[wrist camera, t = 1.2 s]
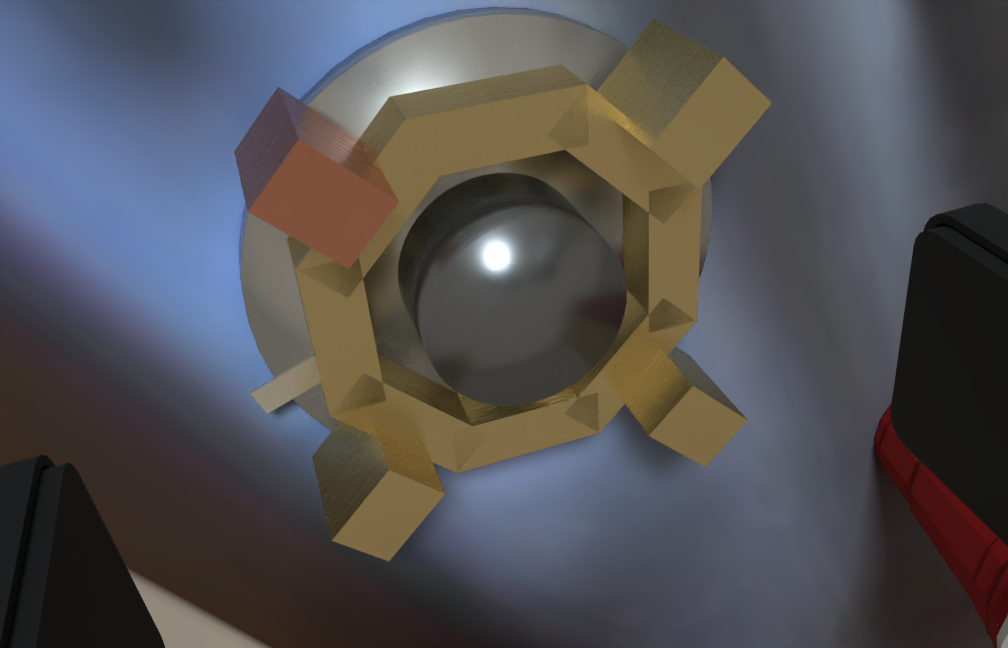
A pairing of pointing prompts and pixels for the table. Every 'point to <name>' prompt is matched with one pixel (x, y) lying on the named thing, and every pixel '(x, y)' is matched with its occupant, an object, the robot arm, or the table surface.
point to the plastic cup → (951, 531)
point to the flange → (466, 231)
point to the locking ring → (473, 144)
